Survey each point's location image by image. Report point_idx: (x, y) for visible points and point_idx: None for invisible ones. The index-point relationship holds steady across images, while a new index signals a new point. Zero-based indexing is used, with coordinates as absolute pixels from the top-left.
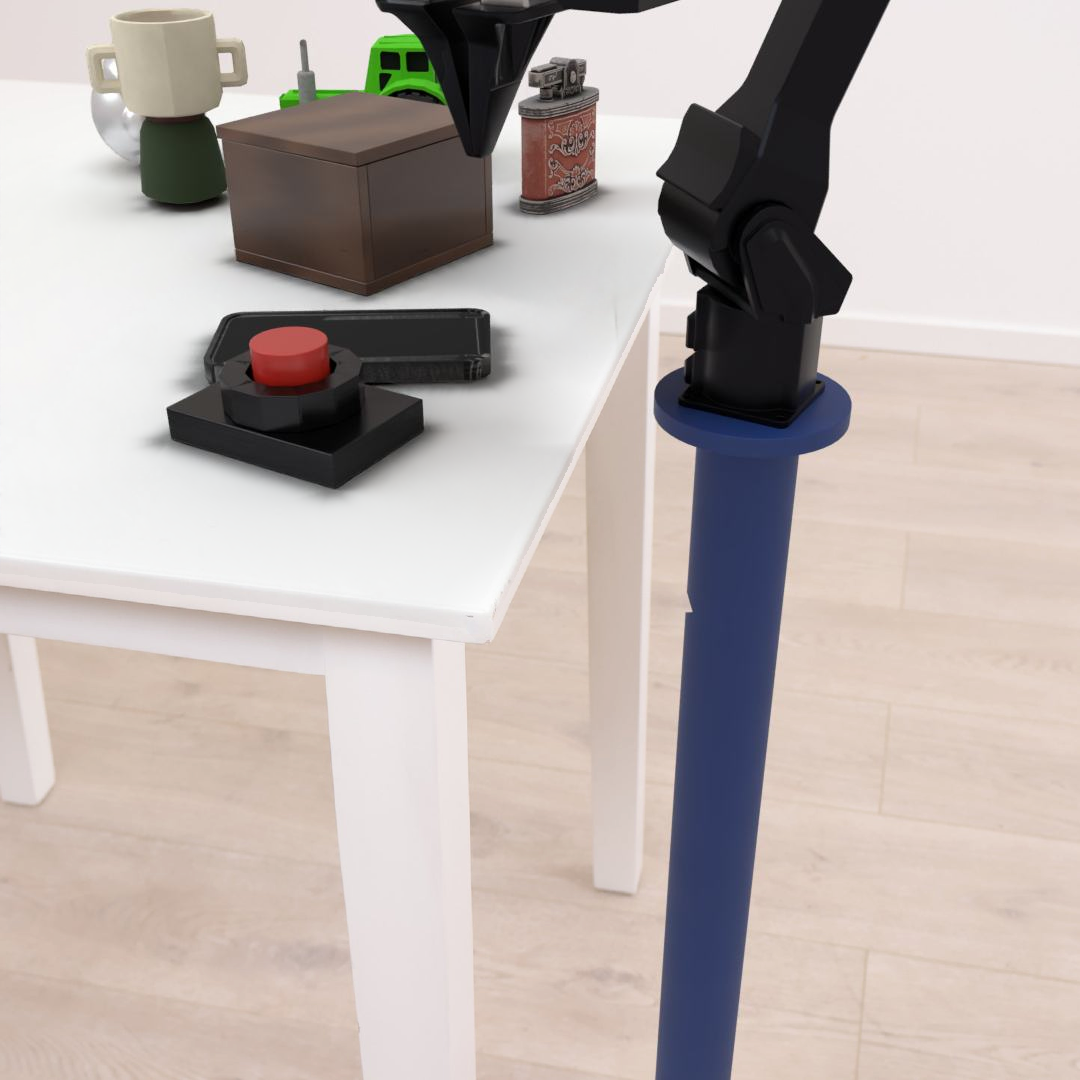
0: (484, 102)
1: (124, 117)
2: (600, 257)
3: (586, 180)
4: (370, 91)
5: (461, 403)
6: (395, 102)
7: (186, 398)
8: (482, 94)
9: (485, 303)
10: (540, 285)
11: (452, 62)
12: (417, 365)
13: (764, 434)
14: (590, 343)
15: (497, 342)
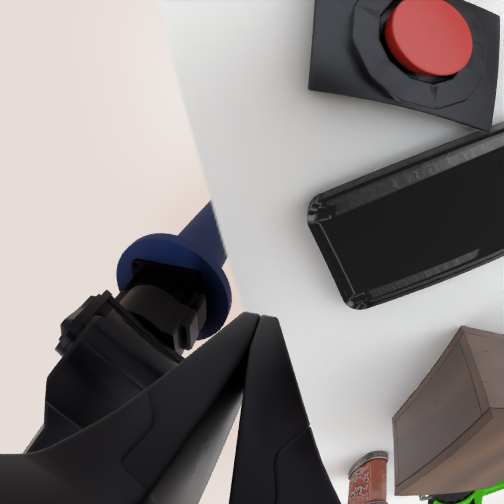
0: (177, 375)
1: None
2: (315, 417)
3: (352, 476)
4: (479, 495)
5: (307, 153)
6: (464, 487)
7: (498, 34)
8: (168, 385)
9: (370, 342)
10: (340, 377)
11: (234, 471)
12: (363, 181)
13: (138, 248)
14: (261, 299)
15: (333, 280)
